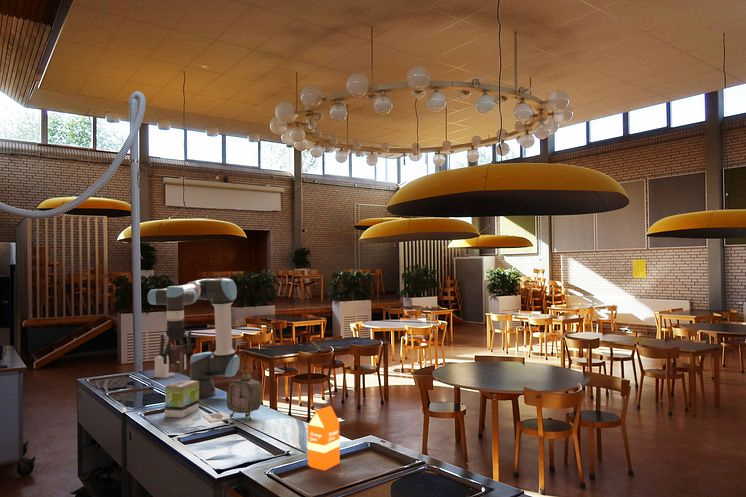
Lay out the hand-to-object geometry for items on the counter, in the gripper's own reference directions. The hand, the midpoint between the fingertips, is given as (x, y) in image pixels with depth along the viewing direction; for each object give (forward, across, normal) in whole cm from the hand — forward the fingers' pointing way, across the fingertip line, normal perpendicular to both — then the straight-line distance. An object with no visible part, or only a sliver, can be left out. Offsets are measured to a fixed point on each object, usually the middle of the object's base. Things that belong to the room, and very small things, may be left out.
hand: (176, 369), depth 252 cm
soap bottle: (+26, +19, +115) cm, 119 cm away
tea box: (+25, +6, +15) cm, 29 cm away
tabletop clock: (+24, +28, -11) cm, 39 cm away
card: (+24, +18, -2) cm, 30 cm away
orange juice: (+24, +31, -85) cm, 94 cm away
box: (+1, 0, 0) cm, 1 cm away
